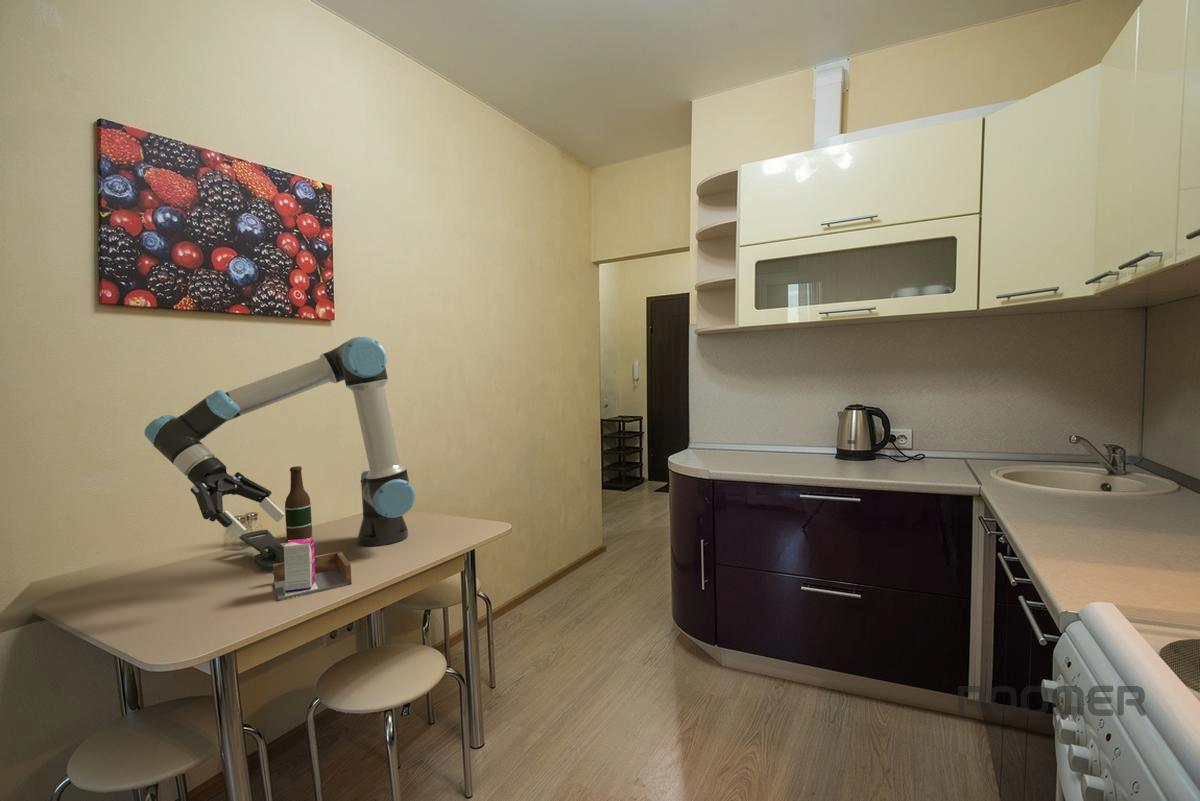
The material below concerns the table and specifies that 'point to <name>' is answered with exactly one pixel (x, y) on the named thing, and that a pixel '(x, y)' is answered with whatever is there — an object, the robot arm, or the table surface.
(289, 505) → the beer bottle
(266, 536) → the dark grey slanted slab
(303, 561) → the supplement box
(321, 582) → the grey mat
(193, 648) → the table surface
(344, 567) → the walnut corner walls
